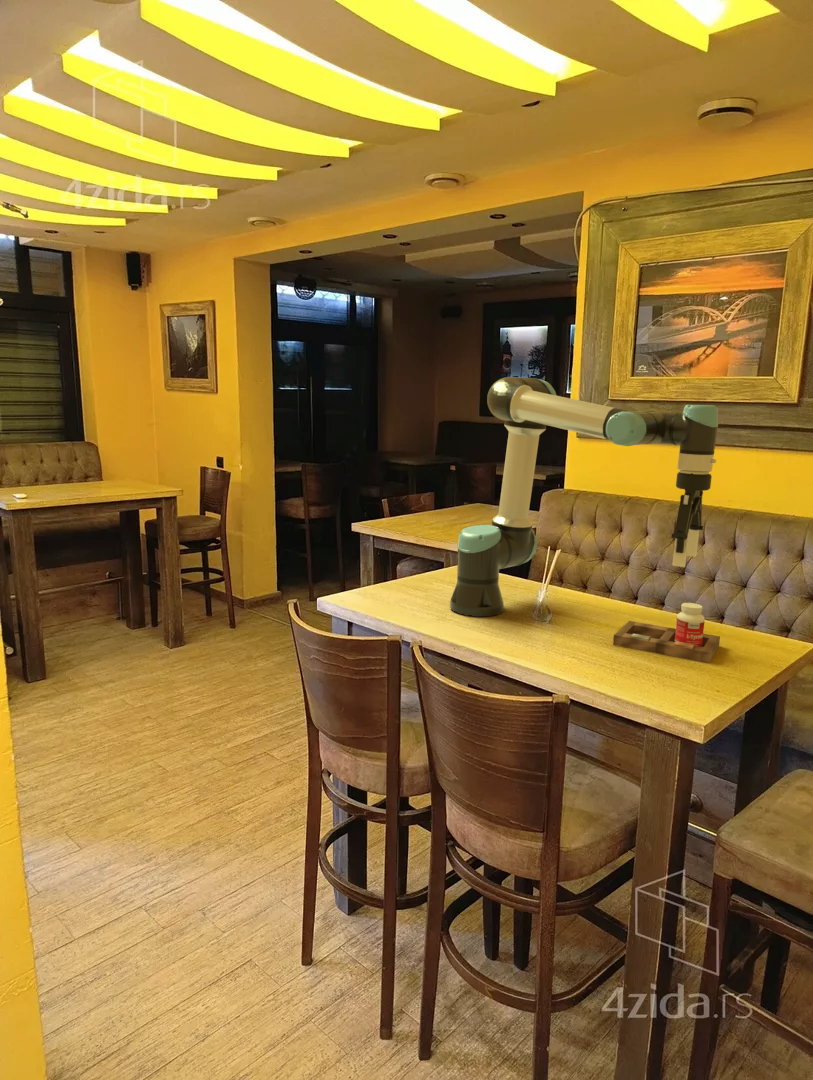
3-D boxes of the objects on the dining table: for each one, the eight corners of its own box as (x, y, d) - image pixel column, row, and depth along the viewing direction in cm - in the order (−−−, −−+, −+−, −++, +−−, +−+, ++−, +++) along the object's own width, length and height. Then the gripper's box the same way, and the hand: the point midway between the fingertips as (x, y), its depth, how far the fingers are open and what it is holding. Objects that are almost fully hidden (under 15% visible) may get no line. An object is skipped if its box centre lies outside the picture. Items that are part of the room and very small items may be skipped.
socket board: (613, 644, 171) (613, 633, 171) (628, 629, 183) (629, 619, 182) (709, 663, 160) (710, 651, 159) (719, 646, 172) (720, 634, 171)
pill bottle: (685, 654, 165) (689, 609, 163) (668, 646, 171) (672, 602, 169) (707, 652, 167) (711, 607, 165) (689, 644, 173) (694, 600, 171)
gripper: (701, 477, 151) (691, 573, 155) (720, 469, 172) (710, 554, 176) (665, 474, 155) (656, 568, 159) (688, 467, 176) (679, 550, 180)
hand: (684, 561), depth 168 cm, fingers open, 13 cm apart
